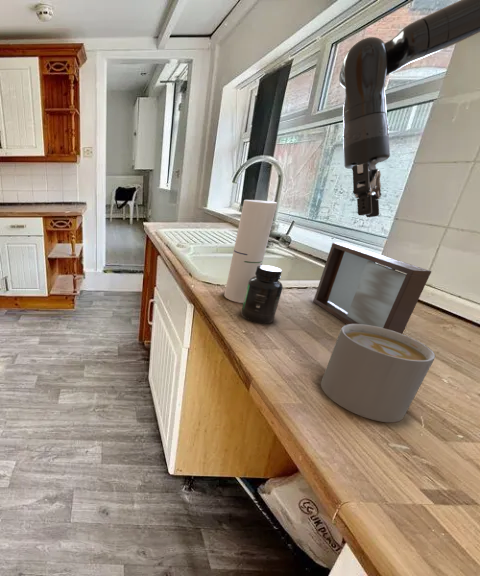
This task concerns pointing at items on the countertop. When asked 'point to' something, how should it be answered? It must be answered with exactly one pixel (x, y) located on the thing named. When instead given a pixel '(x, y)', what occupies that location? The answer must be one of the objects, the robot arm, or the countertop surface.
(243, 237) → the cylindrical container
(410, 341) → the coffee mug
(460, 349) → the countertop surface
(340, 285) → the window pane
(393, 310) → the window frame
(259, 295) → the supplement bottle
